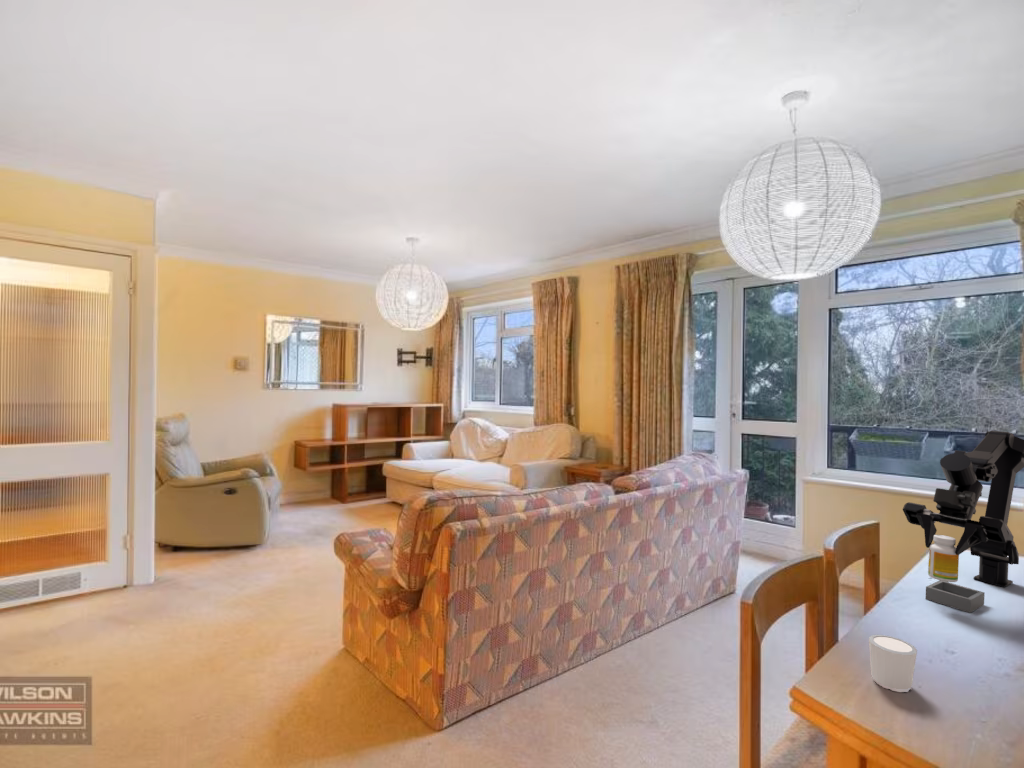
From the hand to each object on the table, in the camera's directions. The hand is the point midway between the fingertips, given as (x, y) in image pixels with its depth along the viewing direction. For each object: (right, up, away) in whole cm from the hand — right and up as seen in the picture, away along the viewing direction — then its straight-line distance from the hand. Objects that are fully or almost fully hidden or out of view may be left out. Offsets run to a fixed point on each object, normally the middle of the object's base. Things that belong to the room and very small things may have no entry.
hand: (941, 550), depth 121 cm
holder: (+7, -14, +5) cm, 17 cm away
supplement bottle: (+1, -7, +1) cm, 7 cm away
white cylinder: (-34, -14, -30) cm, 47 cm away
